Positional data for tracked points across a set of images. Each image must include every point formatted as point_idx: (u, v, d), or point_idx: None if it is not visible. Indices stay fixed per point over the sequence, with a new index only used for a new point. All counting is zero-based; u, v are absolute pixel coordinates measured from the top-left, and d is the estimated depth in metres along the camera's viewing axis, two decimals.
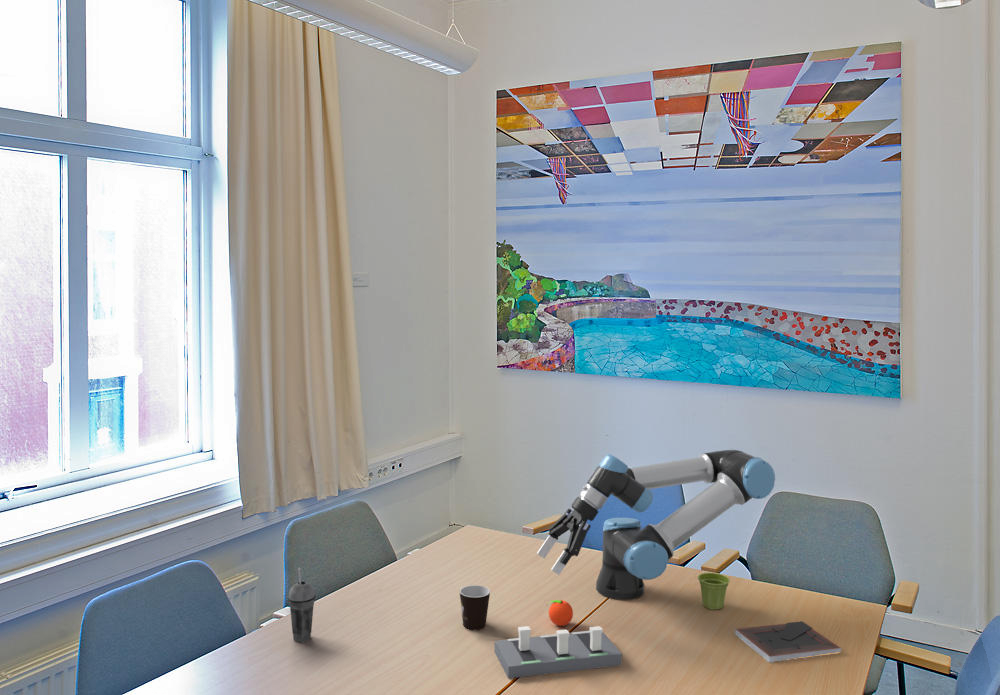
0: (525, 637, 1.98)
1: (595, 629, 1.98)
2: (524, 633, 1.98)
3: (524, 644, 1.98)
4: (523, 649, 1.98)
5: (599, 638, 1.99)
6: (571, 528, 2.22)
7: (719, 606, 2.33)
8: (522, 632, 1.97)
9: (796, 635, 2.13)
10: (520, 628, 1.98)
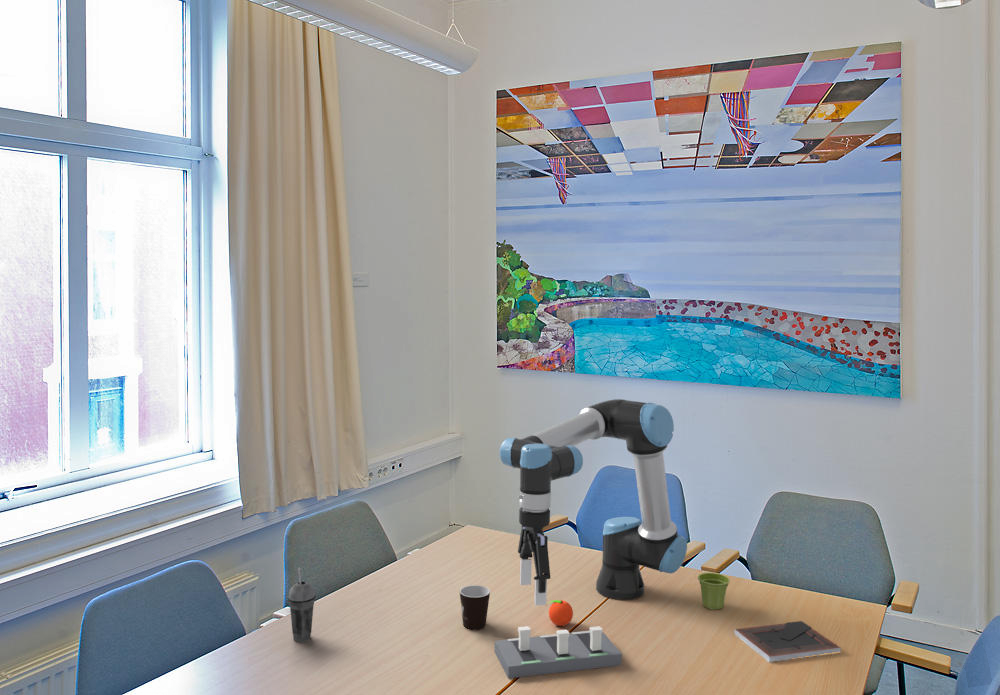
0: (525, 637, 1.98)
1: (595, 629, 1.98)
2: (524, 633, 1.98)
3: (524, 644, 1.98)
4: (523, 649, 1.98)
5: (599, 638, 1.99)
6: (531, 548, 1.86)
7: (719, 606, 2.33)
8: (522, 632, 1.97)
9: (796, 635, 2.13)
10: (520, 628, 1.98)
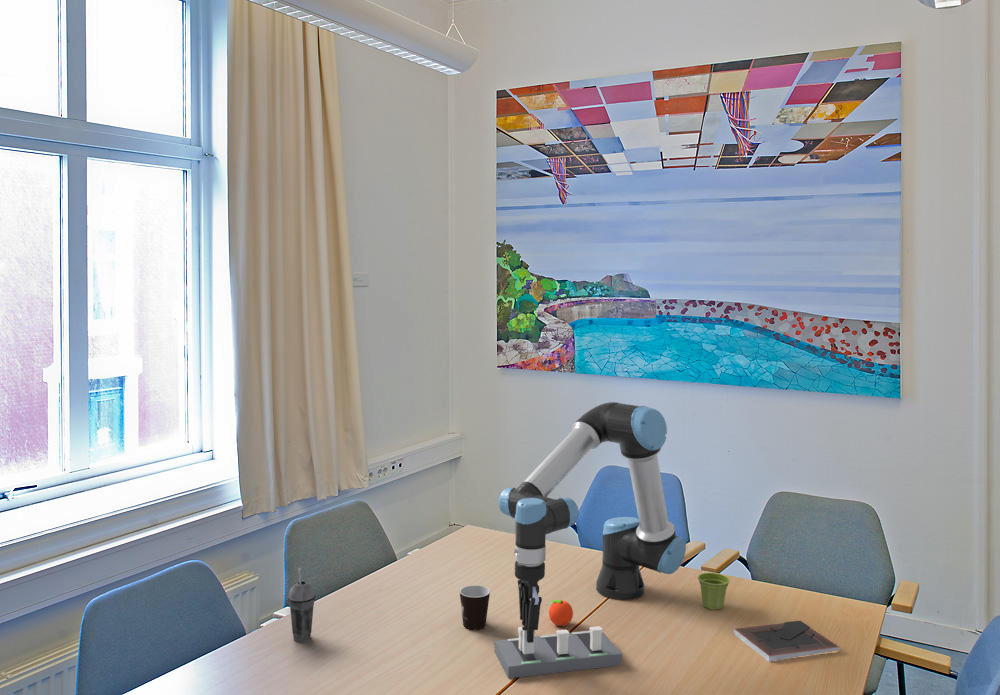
0: None
1: (595, 629, 1.98)
2: None
3: None
4: None
5: (599, 638, 1.99)
6: (524, 601, 1.93)
7: (719, 606, 2.33)
8: (522, 632, 1.97)
9: (795, 634, 2.14)
10: (520, 628, 1.98)
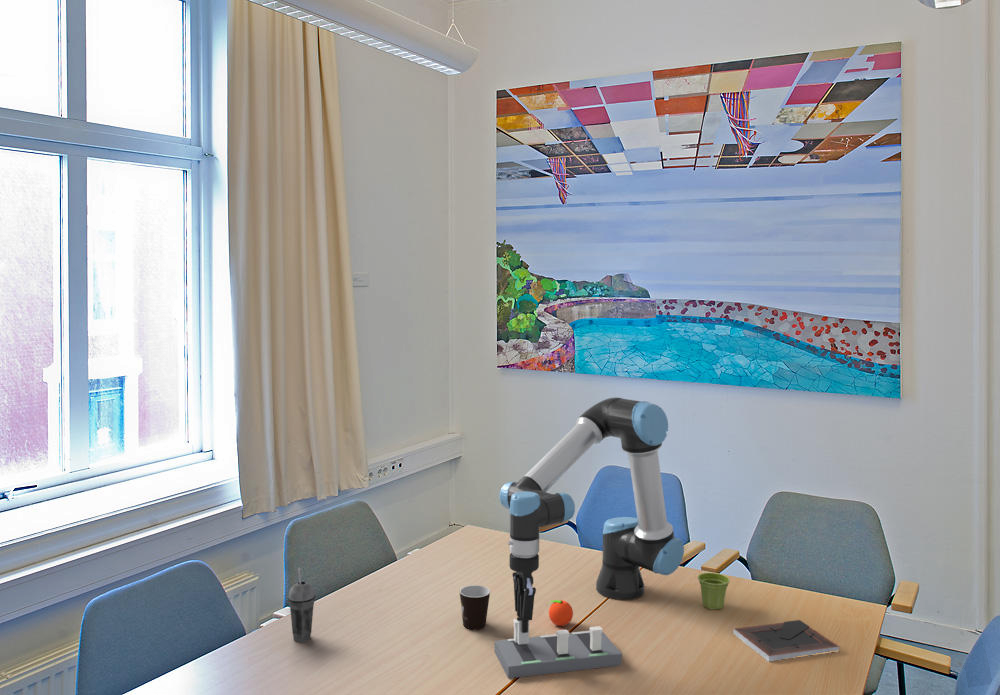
0: None
1: (595, 629, 1.98)
2: None
3: None
4: None
5: (599, 638, 1.99)
6: (519, 592, 1.98)
7: (719, 606, 2.33)
8: (517, 624, 2.02)
9: (794, 634, 2.14)
10: (515, 620, 2.03)
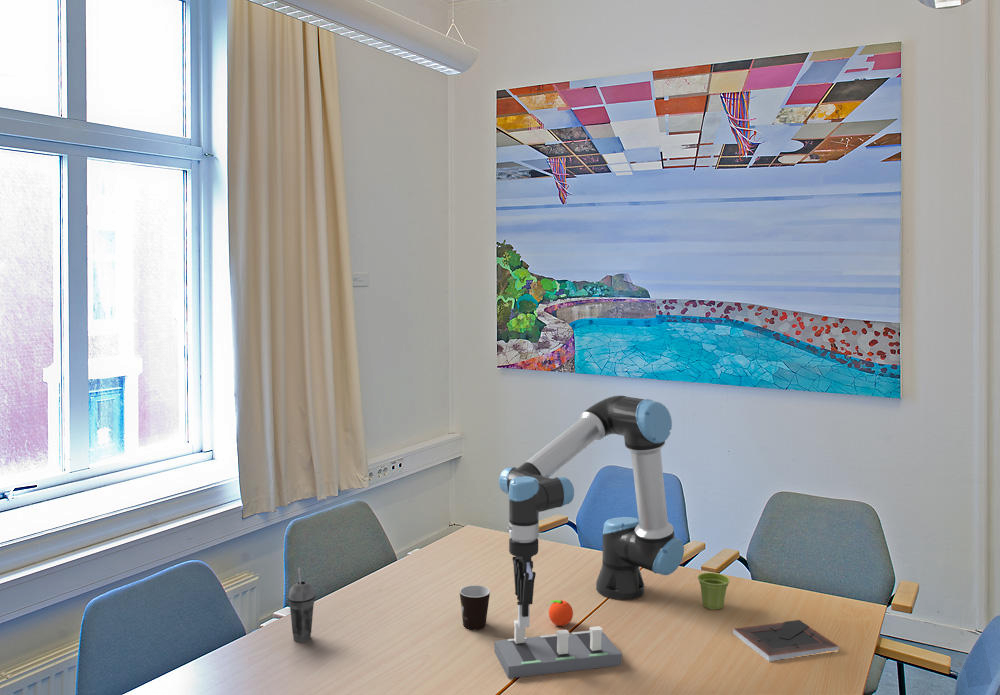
0: (520, 630, 2.02)
1: (595, 629, 1.98)
2: None
3: (519, 637, 2.02)
4: (519, 642, 2.02)
5: (599, 638, 1.99)
6: (518, 576, 1.98)
7: (719, 606, 2.33)
8: None
9: (794, 634, 2.14)
10: (516, 621, 2.02)
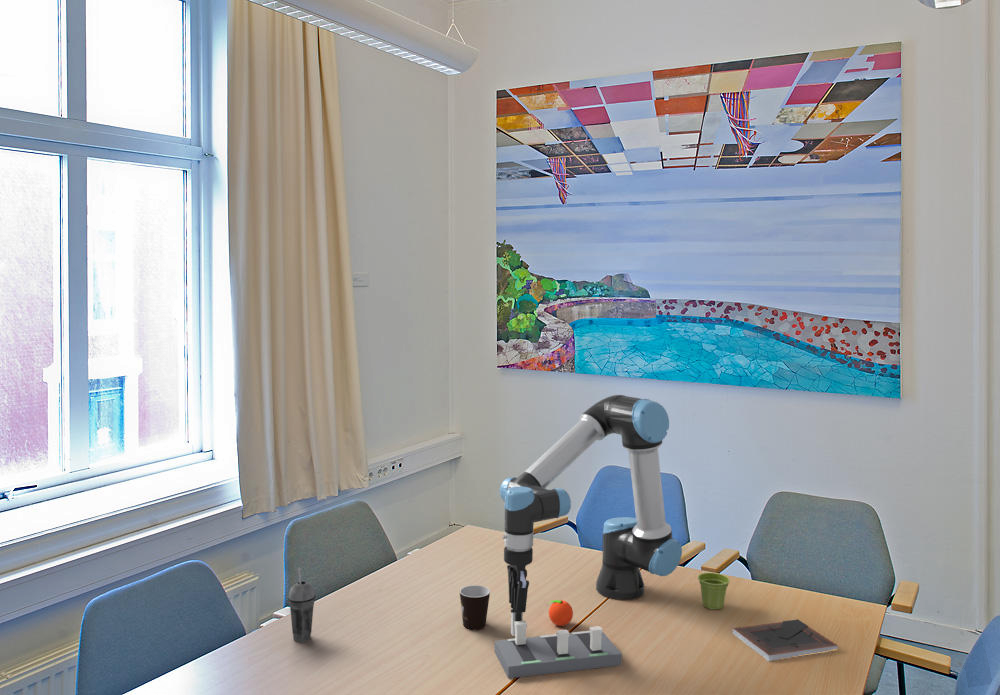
0: (521, 631, 2.01)
1: (595, 629, 1.98)
2: (520, 627, 2.01)
3: (520, 638, 2.01)
4: (519, 643, 2.01)
5: (599, 638, 1.99)
6: (512, 584, 2.02)
7: (719, 606, 2.33)
8: (518, 626, 2.01)
9: (793, 633, 2.14)
10: (516, 622, 2.02)
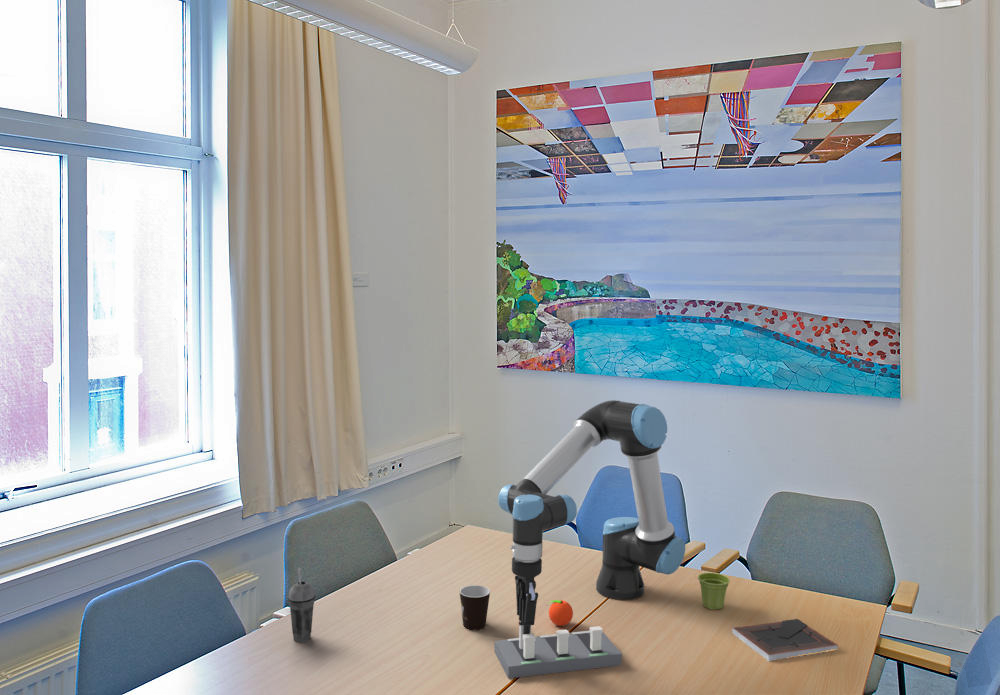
0: (530, 645, 1.94)
1: (595, 629, 1.98)
2: (529, 641, 1.93)
3: (529, 652, 1.94)
4: (528, 657, 1.94)
5: (599, 638, 1.99)
6: (521, 596, 1.95)
7: (719, 606, 2.33)
8: (527, 640, 1.93)
9: (793, 633, 2.15)
10: (525, 635, 1.94)
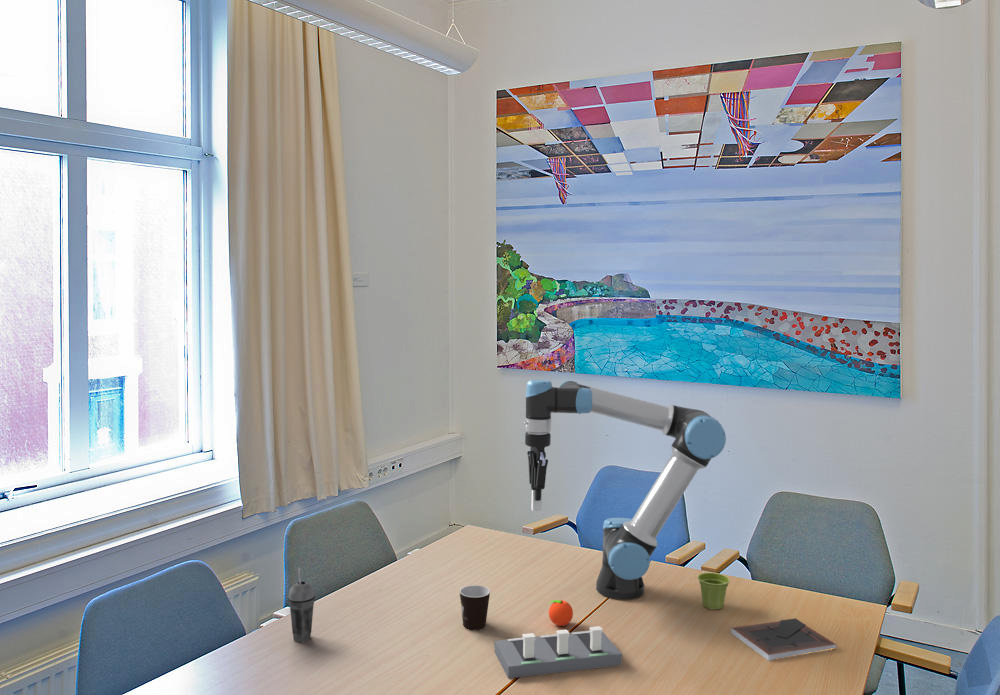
0: (530, 644, 1.94)
1: (595, 629, 1.98)
2: (529, 640, 1.94)
3: (528, 652, 1.94)
4: (528, 656, 1.94)
5: (599, 638, 1.99)
6: (533, 465, 2.29)
7: (719, 606, 2.33)
8: (527, 639, 1.93)
9: (791, 632, 2.15)
10: (524, 635, 1.94)
